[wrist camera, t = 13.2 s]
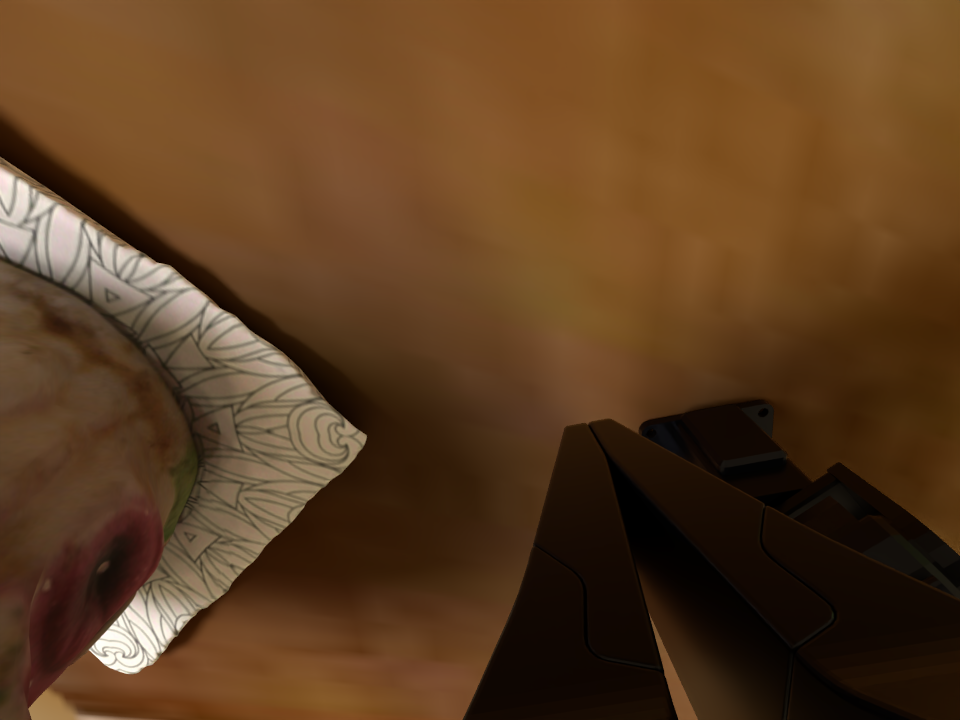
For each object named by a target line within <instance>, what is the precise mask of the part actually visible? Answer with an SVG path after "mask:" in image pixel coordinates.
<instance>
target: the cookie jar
mask: <svg viewBox="0 0 960 720" xmlns="http://www.w3.org/2000/svg"><path fill="white" fill-rule="evenodd" d="M366 439H367V435H366V434H364V433H363V432H361V431H360V430H358V429H356V428H355V427H354V426H353V425H352V424H351V423H350V422H348V421H347V420H346V419H345V418H344V417H343V416H342V415H341V414H340V413H339V412H338V411H337V410H336V409H334V408H333V407H332V406H331V405H330V404H329V403H328V402H327V401H326V400H325V398H324V397H323V396H322V395H321V393H320V392H319V391H318V390H317V389H316V387H315V386H314V385H313V384H312V382H311V381H310V380H309V379H308V377H307V376H306V375H305V374H304V372H303V371H302V370H301V369H300V368H299V367H298V366H297V365H296V364H295V363H294V362H293V361H292V360H291V359H290V358H289V357H288V356H287V355H285V354H284V353H283V352H282V351H280V350H279V349H278V348H276V347H275V346H273V345H272V344H271V343H269V342H267V341H266V340H264V339H262V338H261V337H259V336H258V335H256V334H255V333H253V332H252V331H250V330H249V329H248V328H247V327H246V326H245V325H244V324H243V323H242V322H241V321H240V320H239V319H238V318H237V317H236V316H235V315H234V314H231V313H229V312H227V311H225V310H222V309H221V308H220V307H219V306H218V305H217V304H216V303H215V302H214V301H213V300H212V299H211V298H210V297H209V296H207V295H206V294H205V293H203V292H202V291H201V290H199V289H198V288H197V287H195V286H194V285H193V284H191V283H190V282H189V281H188V280H186V279H185V278H184V277H183V276H182V275H181V274H180V273H178V272H177V271H176V270H175V269H174V268H173V267H172V266H170V265H167V264H162V263H157V262H155V261H154V260H153V259H151V258H150V257H149V256H147V255H146V254H144V253H142V252H140V251H138V250H136V249H135V248H134V247H132V246H131V245H129V244H128V243H126V242H125V241H123V240H122V239H120V238H119V237H117V236H116V235H114V234H113V233H112V232H110V231H109V230H107V229H106V228H104V227H103V226H102V225H100V224H99V223H97V222H96V221H94V220H93V219H91V218H90V217H89V216H87V215H86V214H84V213H83V212H81V211H80V210H79V209H77V208H76V207H74V206H73V205H71V204H70V203H68V202H67V201H66V200H64V199H63V198H61V197H60V196H58V195H57V194H56V193H54V192H53V191H51V190H50V189H48V188H47V187H45V186H43V185H42V184H40V183H39V182H37V181H36V180H34V179H33V178H31V177H30V176H28V175H27V174H25V173H24V172H22V171H21V170H19V169H18V168H16V167H15V166H13V165H12V164H10V163H9V162H7V161H6V160H4V159H3V158H1V157H0V720H31V716H30V713H29V710H28V708H29V707H30V706H31V705H32V704H33V702H34V701H35V700H36V699H37V698H38V697H39V696H40V695H41V694H42V693H43V692H44V691H45V690H46V689H47V688H48V687H49V686H50V685H51V684H52V683H53V682H54V681H55V680H56V679H57V678H58V677H59V676H60V675H61V674H62V673H63V671H64V670H65V669H66V668H67V667H68V666H70V665H72V664H73V663H74V662H76V661H77V660H78V659H79V658H81V657H82V656H83V655H84V654H85V653H86V652H87V651H88V650H90V651H91V652H92V653H93V654H94V655H95V656H96V657H97V658H98V659H99V660H100V661H101V662H102V663H103V664H104V665H106V666H108V667H110V668H112V669H115V670H117V671H120V672H123V673H126V674H135V673H138V672H140V671H141V670H142V669H143V668H144V667H145V666H148V665H152V664H153V663H154V662H156V661H157V660H158V658H159V657H160V655H161V654H162V653H163V652H164V651H165V650H166V648H167V647H168V645H169V643H170V642H171V641H172V640H173V638H174V637H177V636H178V634H179V632H180V631H181V630H182V628H183V627H184V626H185V625H186V624H187V623H188V621H189V620H190V619H191V618H192V617H194V616H195V615H196V614H197V612H198V611H199V610H201V609H204V608H207V607H208V606H209V605H210V604H211V603H213V602H214V601H215V600H217V599H218V598H220V597H221V596H222V595H223V594H225V593H226V592H227V591H228V590H229V588H230V586H231V584H232V583H233V581H234V580H235V578H237V577H238V576H239V575H240V573H241V572H242V571H243V570H244V569H245V568H246V567H247V566H249V565H250V564H251V563H253V562H254V560H255V559H256V558H257V557H258V556H259V555H260V553H261V552H262V550H263V549H264V547H265V546H266V545H267V544H268V543H269V542H270V541H271V540H272V539H273V538H274V537H275V536H277V535H279V534H280V533H281V532H282V531H283V530H284V529H285V528H286V527H287V526H288V525H289V524H290V523H291V522H292V521H293V520H294V519H295V518H296V517H297V515H298V514H299V513H300V512H301V510H302V509H303V508H304V506H305V504H306V502H307V501H308V500H310V499H311V498H312V497H314V496H315V494H316V493H317V492H318V491H319V490H320V489H321V488H323V487H326V485H327V484H328V483H329V482H330V481H331V480H332V479H333V478H335V477H336V476H338V475H340V474H341V473H342V472H343V471H344V470H345V469H346V468H347V467H348V466H349V464H350V463H351V462H352V461H353V460H354V459H355V458H356V456H357V454H358V452H359V451H360V450H361V449H362V448H363V446H364V444H365V442H366Z"/></svg>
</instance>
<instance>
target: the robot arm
mask: <svg viewBox="0 0 960 720" xmlns="http://www.w3.org/2000/svg"><path fill="white" fill-rule="evenodd" d="M763 408H764V409H763ZM761 409H763V411H762V412H760V413H758V412H759V411H760V410H761ZM773 413H774V410H773V407H772V406H771V405H770V404H769V403H768V402H767V401H764V400H757V401H752V402H746V403H741V404H736V405H735V404H731V405H725V406H720V407H715V408H709V409H704V410H699V411H693V412H688V413H685V414H682V415H677V416H671V417H666V418H661V419H655V420H650V421H646V422H644V423H643V424H641V426H640V427H639V434H638V433H636V432H634V431H632V430H630V429H629V428H627V427H625V426H623V425H621V424H620V423H618V422H616V421H614V420H612V419H602V420H597V421H592V422H590V423H589V425H587V424H586V423H581V424H576V425H571V426H567V427H565V429H564V433H563V436H562V440H561V444H560V447H559V451H558V455H557V458H556V462H555V466H554V469H553V473H552V477H551V480H550V484H549V488H548V492H547V495H546V499H545V503H544V506H543V510H542V514H541V517H540V521H539V525H538V528H537V532H536V536H535V540H534V543H533V548H532V550H531V553H530V557H529V561H528V564H527V568H526V571H525V574H524V577H523V580H522V583H521V587H520V590H519V593H518V595H517V598H516V600H515V603H514V605H513V608H512V610H511V613H510V615H509V618H508V620H507V623H506V625H505V627H504V629H503V632H502V634H501V636H500V638H499V640H498V643H497V645H496V647H495V649H494V652H493V654H492V656H491V658H490V661H489V663H488V665H487V667H486V670H485V672H484V674H483V676H482V679H481V681H480V683H479V685H478V688H477V690H476V692H475V694H474V697H473V699H472V701H471V703H470V705H469V707H468V709H467V712H466V714H465V716H464V718H463V720H678V717H677V714H676V711H675V708H674V705H673V702H672V698H671V695H670V691H669V688H668V684H667V680H666V678H665V676H664V669H663V665H662V661H661V658H660V654H659V650H658V646H657V643H656V639H655V635H654V631H653V628H652V624H651V620H650V616H651V618H652V620H653V622H654V624H655V627H656V629H657V631H658V633H659V635H660V637H661V640H662V642H663V644H664V646H665V648H666V651H667V653H668V655H669V657H670V659H671V661H672V664H673V666H674V668H675V670H676V672H677V674H678V677H679V679H680V681H681V683H682V685H683V687H684V690H685V692H686V694H687V696H688V698H689V701H690V703H691V705H692V707H693V709H694V711H695V714H696V716H697V718H698V720H960V556H959V555H958V554H957V553H956V552H955V551H954V550H953V549H952V548H950V547H949V546H948V545H947V544H946V543H945V542H944V541H943V540H941V539H940V538H939V537H938V536H937V535H936V534H935V533H933V532H932V531H931V530H930V529H929V528H927V527H926V526H925V525H924V524H923V523H921V522H920V521H919V520H918V519H916V518H915V517H914V516H913V515H911V514H910V513H909V512H907V511H906V510H905V509H903V508H902V507H900V506H899V505H898V504H896V503H895V502H894V501H892V500H891V499H889V498H888V497H887V496H885V495H884V494H882V493H881V492H880V491H878V490H877V489H876V488H874V487H873V486H871V485H870V484H869V483H867V482H866V481H865V480H863V479H862V478H860V477H859V476H858V475H856V474H855V473H853V472H852V471H851V470H849V469H848V468H847V467H845V466H844V465H842V464H841V463H840V462H838V463H836V464H835V465H833V466H832V467H830V468H829V469H827V472H828V473H826V474H825V475H823V476H822V477H820V478H819V479H817V480H815V481H814V482H812V481H811V480H810V479H809V478H808V477H807V476H806V475H805V474H804V473H803V472H802V471H801V470H800V469H799V468H798V467H797V466H796V465H795V464H794V463H793V462H792V461H790V460H789V459H788V458H787V453H786V451H785V450H784V449H782V448H781V447H780V446H779V445H778V444H777V443H776V442H775V441H774V440H773V439H772V428H773ZM650 429H653V431H652V432H651V433H647V432H648V430H650ZM648 611H649V612H648ZM649 614H650V616H649Z"/></svg>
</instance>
